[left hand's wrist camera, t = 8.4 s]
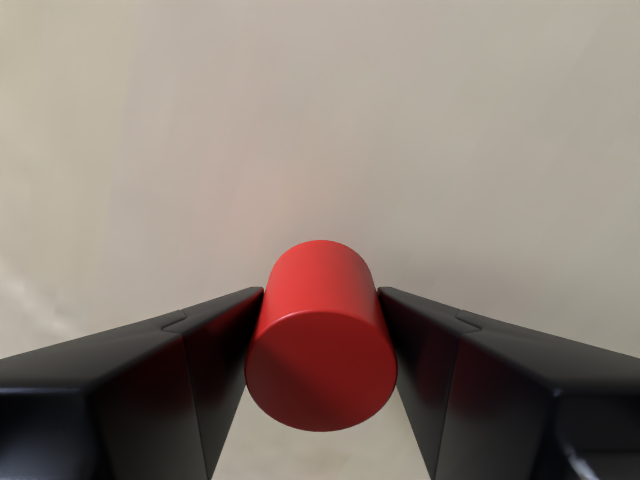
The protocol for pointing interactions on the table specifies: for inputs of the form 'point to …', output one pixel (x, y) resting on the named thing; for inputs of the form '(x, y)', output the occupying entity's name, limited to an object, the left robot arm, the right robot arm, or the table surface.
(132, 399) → the left robot arm
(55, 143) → the table surface
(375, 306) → the red cylinder
